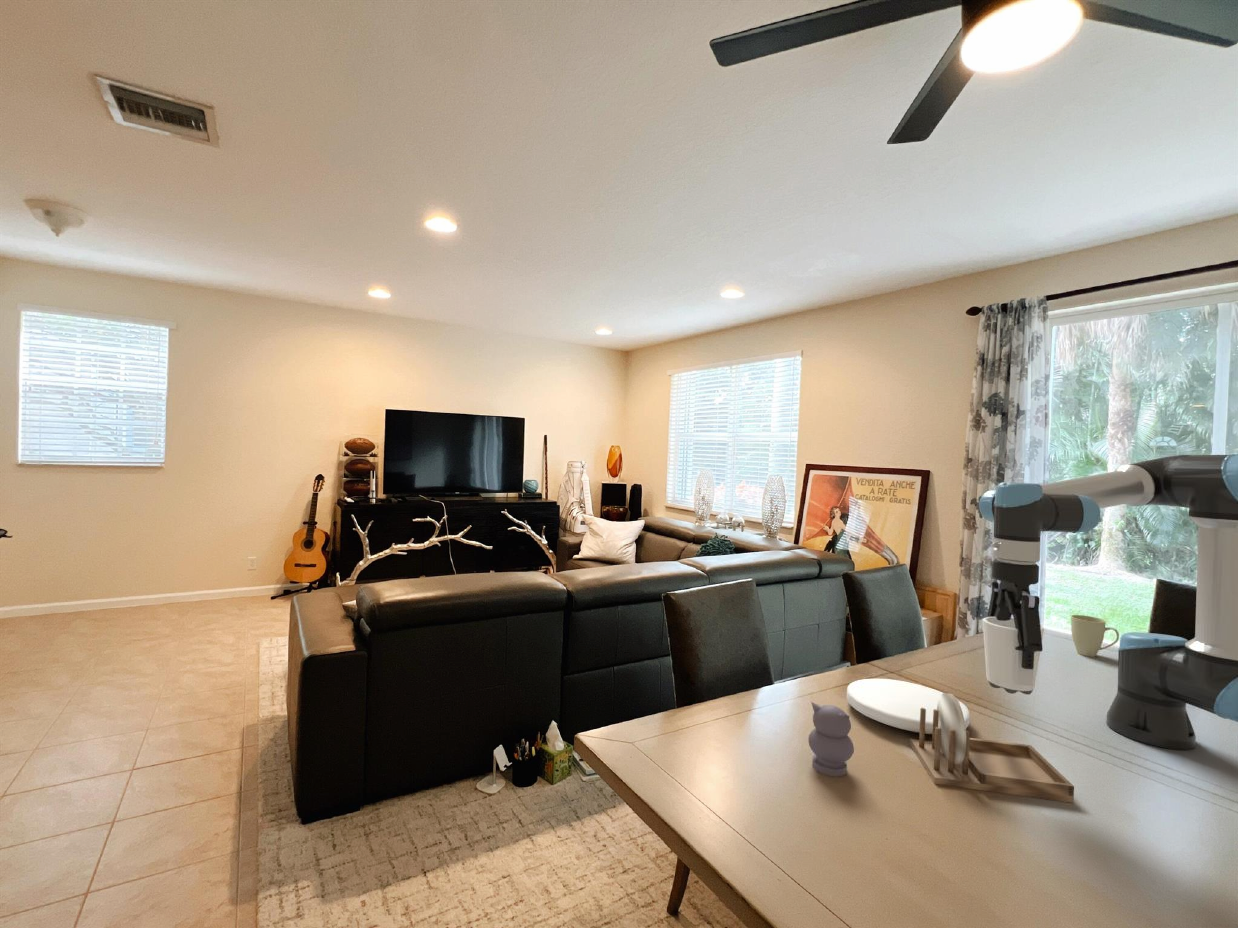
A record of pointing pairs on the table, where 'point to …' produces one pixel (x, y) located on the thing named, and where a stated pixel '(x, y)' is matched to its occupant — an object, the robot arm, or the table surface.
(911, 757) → the table surface
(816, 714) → the cat figurine
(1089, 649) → the mug
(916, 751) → the rack
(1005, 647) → the cup
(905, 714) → the plate
